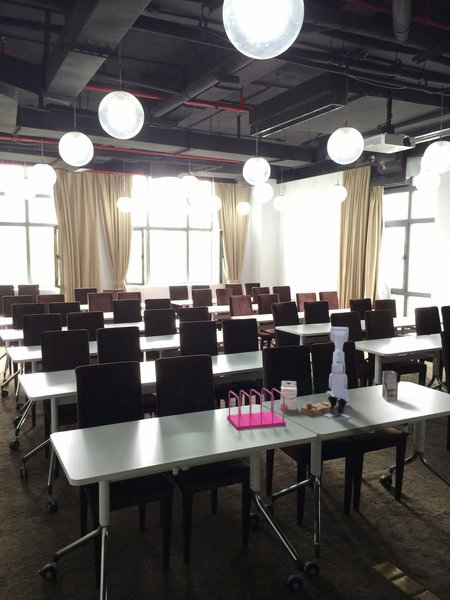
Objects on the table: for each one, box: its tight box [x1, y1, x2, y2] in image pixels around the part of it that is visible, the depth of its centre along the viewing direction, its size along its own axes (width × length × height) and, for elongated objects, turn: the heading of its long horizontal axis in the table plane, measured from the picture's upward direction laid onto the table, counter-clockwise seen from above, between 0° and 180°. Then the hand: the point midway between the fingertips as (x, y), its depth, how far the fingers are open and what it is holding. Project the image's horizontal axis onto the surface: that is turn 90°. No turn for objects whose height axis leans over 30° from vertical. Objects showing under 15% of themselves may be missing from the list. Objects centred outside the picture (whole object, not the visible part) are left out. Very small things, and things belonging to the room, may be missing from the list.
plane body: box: [300, 401, 331, 417], centre depth 267 cm, size 18×8×5 cm, turn 123°
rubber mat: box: [322, 412, 352, 422], centre depth 259 cm, size 10×10×1 cm
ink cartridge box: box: [280, 380, 298, 411], centre depth 272 cm, size 9×5×15 cm, turn 84°
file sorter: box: [226, 387, 287, 430], centre depth 250 cm, size 17×25×16 cm
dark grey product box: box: [329, 405, 346, 416], centre depth 258 cm, size 6×4×4 cm
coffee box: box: [381, 370, 399, 403], centre depth 290 cm, size 9×6×16 cm
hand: (337, 411), depth 258 cm, fingers closed on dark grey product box, 4 cm apart
